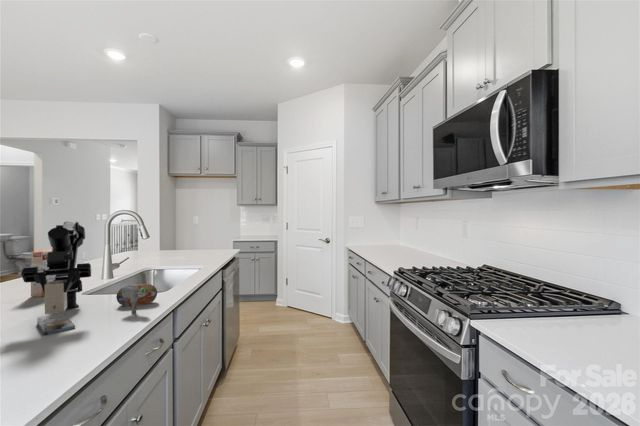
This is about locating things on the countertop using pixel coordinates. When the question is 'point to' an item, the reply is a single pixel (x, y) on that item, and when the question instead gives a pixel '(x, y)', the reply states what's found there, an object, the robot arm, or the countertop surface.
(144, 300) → the tin
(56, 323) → the plate
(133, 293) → the grey t-shaped piece
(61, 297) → the block
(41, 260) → the cracker box
